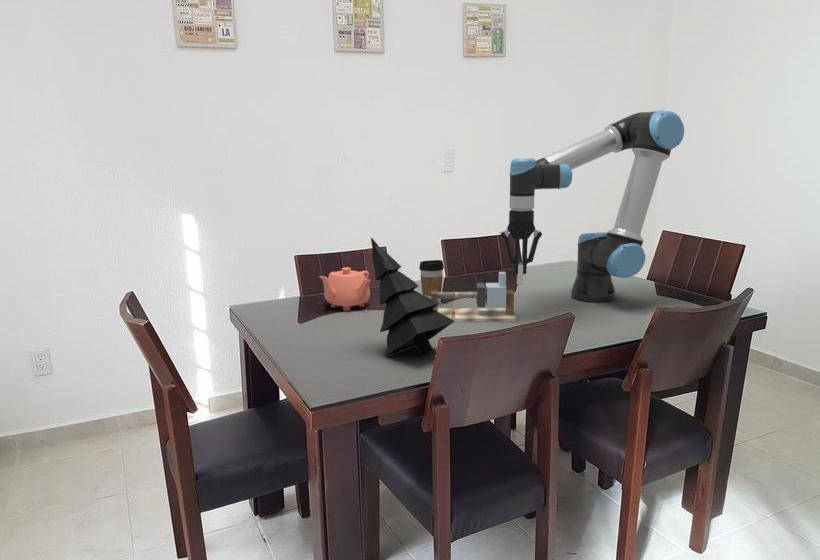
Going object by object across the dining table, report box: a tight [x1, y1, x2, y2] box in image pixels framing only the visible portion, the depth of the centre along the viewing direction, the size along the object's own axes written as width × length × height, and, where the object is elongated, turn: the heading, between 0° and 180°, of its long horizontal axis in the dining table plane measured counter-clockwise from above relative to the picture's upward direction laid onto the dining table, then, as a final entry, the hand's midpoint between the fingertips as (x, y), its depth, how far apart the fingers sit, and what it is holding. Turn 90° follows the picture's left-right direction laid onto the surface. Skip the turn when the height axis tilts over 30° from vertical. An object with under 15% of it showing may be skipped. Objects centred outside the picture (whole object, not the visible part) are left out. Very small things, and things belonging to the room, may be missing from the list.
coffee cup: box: [418, 259, 445, 306], centre depth 215 cm, size 8×8×15 cm
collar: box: [475, 282, 486, 308], centre depth 199 cm, size 2×6×6 cm, turn 178°
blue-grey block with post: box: [485, 271, 508, 308], centre depth 198 cm, size 6×6×10 cm
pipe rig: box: [431, 289, 518, 323], centre depth 199 cm, size 27×12×8 cm, turn 87°
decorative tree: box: [370, 237, 455, 357], centre depth 167 cm, size 15×15×35 cm
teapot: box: [318, 266, 371, 312], centre depth 213 cm, size 16×17×14 cm
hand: (519, 284), depth 197 cm, fingers closed
